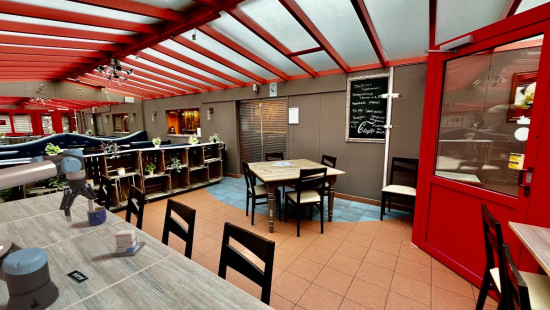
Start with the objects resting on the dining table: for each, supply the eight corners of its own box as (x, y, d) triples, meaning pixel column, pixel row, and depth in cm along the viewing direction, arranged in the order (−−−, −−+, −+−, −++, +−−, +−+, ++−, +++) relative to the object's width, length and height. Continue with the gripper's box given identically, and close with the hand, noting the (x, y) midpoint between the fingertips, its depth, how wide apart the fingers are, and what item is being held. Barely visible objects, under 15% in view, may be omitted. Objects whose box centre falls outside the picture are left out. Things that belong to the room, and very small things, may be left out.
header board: (134, 255, 124) (133, 243, 123) (112, 256, 124) (111, 244, 122) (145, 244, 136) (144, 233, 135) (126, 244, 135) (124, 233, 134)
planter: (104, 225, 161) (102, 211, 159) (86, 227, 157) (84, 213, 155) (109, 219, 171) (107, 205, 169) (92, 221, 167) (90, 207, 165)
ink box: (137, 247, 130) (135, 228, 128) (133, 252, 125) (131, 233, 123) (121, 248, 129) (119, 230, 127) (117, 253, 124) (114, 234, 122)
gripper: (61, 184, 102) (67, 226, 105) (101, 172, 127) (105, 206, 130) (45, 184, 102) (51, 226, 105) (89, 172, 127) (93, 206, 130)
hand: (81, 215), depth 118 cm, fingers open, 13 cm apart
